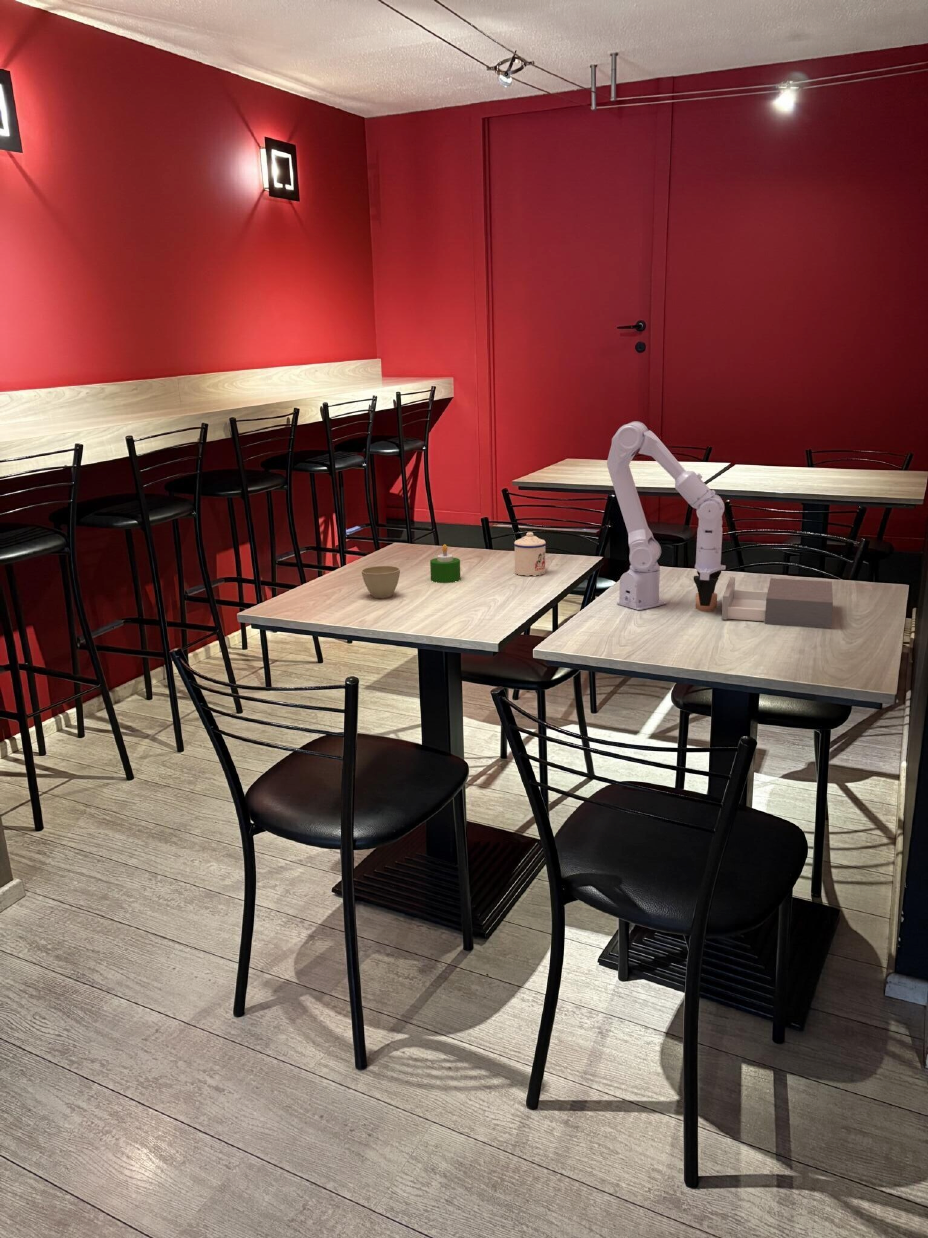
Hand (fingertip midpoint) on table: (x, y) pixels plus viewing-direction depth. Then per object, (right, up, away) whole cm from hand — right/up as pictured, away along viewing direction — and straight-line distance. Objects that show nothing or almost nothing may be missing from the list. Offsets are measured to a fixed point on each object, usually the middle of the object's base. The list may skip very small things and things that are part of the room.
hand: (706, 602), depth 226 cm
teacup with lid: (-39, +9, +42) cm, 58 cm away
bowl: (-80, +2, +19) cm, 82 cm away
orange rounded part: (0, -1, 0) cm, 1 cm away
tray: (+10, -2, -3) cm, 11 cm away
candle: (-63, +7, +35) cm, 73 cm away
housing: (+19, -3, -6) cm, 20 cm away
